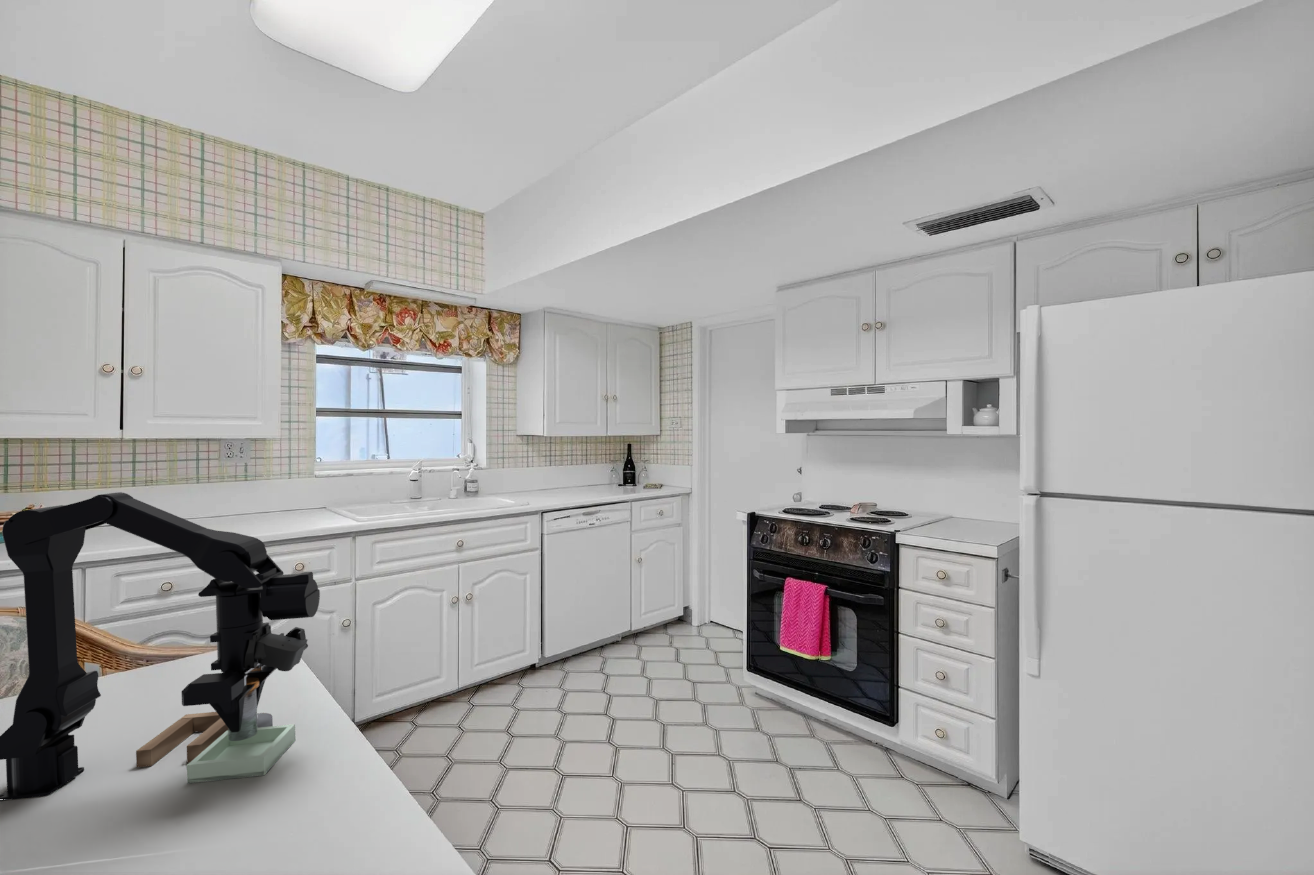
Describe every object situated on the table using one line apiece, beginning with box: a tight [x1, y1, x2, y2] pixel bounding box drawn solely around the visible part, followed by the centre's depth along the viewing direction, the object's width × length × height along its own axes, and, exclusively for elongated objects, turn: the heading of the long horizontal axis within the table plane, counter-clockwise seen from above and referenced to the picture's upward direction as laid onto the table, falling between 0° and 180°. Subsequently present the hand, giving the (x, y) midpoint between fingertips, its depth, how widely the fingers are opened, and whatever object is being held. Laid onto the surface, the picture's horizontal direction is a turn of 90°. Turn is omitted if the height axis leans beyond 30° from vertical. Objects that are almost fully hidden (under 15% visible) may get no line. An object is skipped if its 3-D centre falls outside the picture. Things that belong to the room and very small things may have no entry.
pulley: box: [257, 712, 274, 728], centre depth 97 cm, size 6×6×3 cm
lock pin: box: [228, 678, 259, 741], centre depth 89 cm, size 4×4×8 cm
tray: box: [186, 723, 297, 784], centre depth 89 cm, size 10×10×3 cm
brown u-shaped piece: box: [135, 711, 228, 768], centre depth 95 cm, size 9×12×2 cm
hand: (243, 725), depth 89 cm, fingers closed on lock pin, 4 cm apart
